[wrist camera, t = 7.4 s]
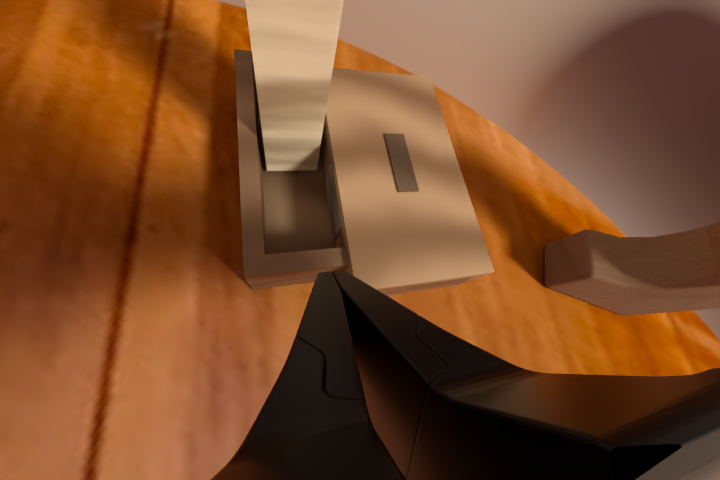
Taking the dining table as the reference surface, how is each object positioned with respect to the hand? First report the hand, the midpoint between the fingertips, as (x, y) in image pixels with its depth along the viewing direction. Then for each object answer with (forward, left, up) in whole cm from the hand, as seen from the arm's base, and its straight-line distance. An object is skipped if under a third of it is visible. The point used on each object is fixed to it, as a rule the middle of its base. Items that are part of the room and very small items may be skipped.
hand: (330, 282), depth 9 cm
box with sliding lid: (+10, +5, -11) cm, 16 cm away
